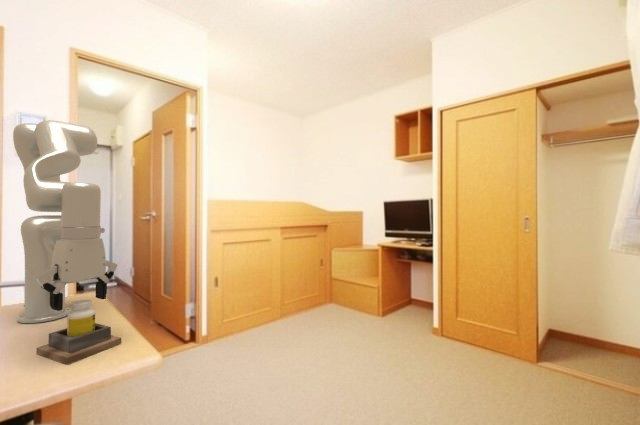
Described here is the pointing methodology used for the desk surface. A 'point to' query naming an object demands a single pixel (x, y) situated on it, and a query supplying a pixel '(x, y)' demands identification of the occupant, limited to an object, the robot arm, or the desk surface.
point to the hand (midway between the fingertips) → (80, 303)
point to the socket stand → (78, 344)
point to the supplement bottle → (81, 318)
